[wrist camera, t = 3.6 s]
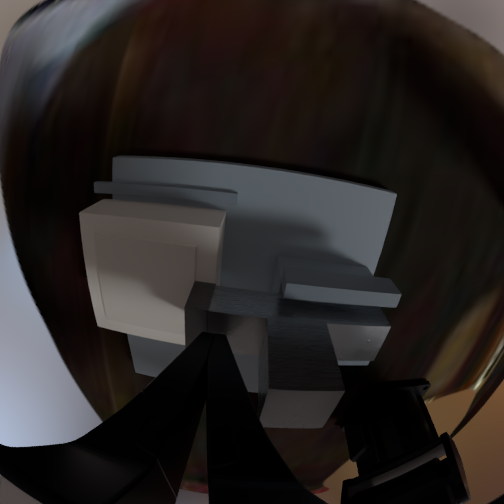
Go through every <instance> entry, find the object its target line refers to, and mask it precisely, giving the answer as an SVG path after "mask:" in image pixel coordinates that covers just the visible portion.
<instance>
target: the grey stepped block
mask: <svg viewBox="0 0 504 504" xmlns="http://www.w3.org/2000/svg"><path fill="white" fill-rule="evenodd" d="M184 314H185V348H186V347H187V346H188V345H189V344H190V343H191V342H192V341H193V340H194V339H195V338H196V337H197V336H198V335H199V334H200V333H201V332H210V333H214V334H215V333H217V334H224V335H226V336H227V339H228V341H229V344H230V347H231V349H232V352H233V353H237V354H246V355H255V356H259V365H258V417H259V419H260V421H261V423H262V425H263V427H274V428H322V427H323V426H324V424H325V423H326V421H327V420H328V418H329V417H330V415H331V414H332V412H333V410H334V409H335V407H336V406H337V404H338V402H339V401H340V399H341V397H342V396H343V394H344V392H345V388H344V384H343V380H342V376H341V373H340V369H339V365H338V361H374V359H375V357H376V355H377V353H378V351H379V349H380V348H381V346H382V344H383V342H384V340H385V338H386V336H387V334H388V332H389V330H390V328H391V326H390V324H389V322H388V320H387V319H386V317H385V315H384V313H383V311H382V310H381V308H380V307H379V306H365V305H352V304H340V303H328V302H318V301H307V300H297V299H288V298H283V294H281V293H272V292H263V291H255V290H247V289H239V288H231V287H223V286H216V284H215V283H207V282H200V281H195V282H194V284H193V287H192V289H191V292H190V294H189V297H188V299H187V302H186V304H185V307H184Z"/></svg>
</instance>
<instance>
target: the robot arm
mask: <svg viewBox="0 0 504 504" xmlns="http://www.w3.org/2000/svg"><path fill="white" fill-rule="evenodd" d="M430 386H431V385H430V383H429V381H422V382H414V383H405V384H394V385H380V386H371V387H368V388H367V389H366V390H365V391H364V393H363V395H362V396H361V398H360V399H359V401H358V402H357V404H356V405H355V406H354V408H353V409H352V411H351V412H350V414H349V415H348V417H347V418H346V419H345V421H344V422H343V423H342V425H341V431H345V434H346V439H347V444H348V449H349V455H350V460H351V461H352V462H356V463H357V467H358V474H359V476H358V477H355V478H353V479H347V480H344V481H343V485H342V493H341V504H464V503H466V502H468V501H469V500H471V497H470V492H469V488H468V483H467V479H466V475H465V471H464V467H463V463H462V460H461V457H460V455H459V452H458V450H457V447H456V445H455V443H454V441H453V440H452V438H451V437H450V436H449V434H448V433H447V432H445V433H443V434H442V435H440V437H438V434H437V432H436V429H435V427H434V424H433V422H432V420H431V417H430V414H429V412H428V410H427V407H426V405H425V403H424V400H423V398H422V397H423V396H424V394H425V393H426V392H427V390H428V389H429V388H430ZM206 397H207V398H206ZM205 401H206V418H207V472H208V496H209V504H328V503H326V502H325V501H323V500H322V499H320V498H319V497H317V496H316V495H314V494H313V493H311V492H310V491H308V490H307V489H306V488H305V487H304V486H303V485H302V484H301V483H300V482H299V481H298V480H297V479H296V478H295V476H294V475H293V474H292V472H291V471H290V469H289V468H288V466H287V465H286V463H285V462H284V460H283V459H282V457H281V456H280V454H279V453H278V451H277V450H276V448H275V447H274V445H273V444H272V442H271V440H270V439H269V437H268V435H267V433H266V432H265V430H264V428H263V425H262V423H261V421H260V419H259V417H258V414H257V412H256V410H255V408H254V405H253V403H252V400H251V398H250V395H249V393H248V390H247V388H246V385H245V383H244V380H243V378H242V375H241V373H240V370H239V368H238V365H237V362H236V360H235V357H234V355H233V352H232V349H231V347H230V344H229V341H228V339H227V336H226V335H224V334H217V333H215V334H214V333H210V332H201V333H200V334H199V335H198V336H197V337H196V338H195V339H194V340H193V341H192V342H191V343H190V344H189V345H188V346H187V347H186V348H185V349H184V350H183V351H182V352H181V353H180V354H179V355H178V356H177V357H176V358H175V359H174V360H173V361H172V362H171V363H170V364H169V365H168V366H167V367H166V368H165V369H164V370H163V371H162V372H161V373H160V374H159V375H158V376H156V377H155V378H154V379H153V380H152V381H151V382H150V383H149V384H148V385H147V386H146V387H145V388H144V389H143V392H142V391H141V392H140V393H139V394H138V395H137V396H136V397H135V398H133V399H132V400H131V401H130V402H129V403H128V404H127V405H125V406H124V407H123V408H122V409H121V410H119V411H118V412H117V413H115V414H114V415H113V416H111V417H110V418H108V419H107V420H106V421H104V422H103V423H101V424H100V425H99V426H97V427H96V428H94V429H93V430H91V431H90V432H88V433H87V434H85V435H84V436H82V437H81V438H79V439H77V440H74V441H72V442H68V443H64V444H55V445H45V446H32V447H9V446H4V445H2V444H0V504H175V503H176V498H177V496H178V492H179V489H180V486H181V482H182V479H183V475H184V472H185V469H186V465H187V462H188V458H189V455H190V452H191V448H192V445H193V441H194V438H195V435H196V431H197V428H198V425H199V421H200V418H201V414H202V411H203V408H204V404H205ZM445 454H446V456H447V458H445V459H443V460H442V461H440V460H439V459H438V458H440V457H442V456H444V455H445ZM487 504H504V494H502V495H500V496H499V497H497V498H496V499H494V500H492V501H491V502H489V503H487Z"/></svg>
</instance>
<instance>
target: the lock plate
mask: <svg viewBox="0 0 504 504" xmlns="http://www.w3.org/2000/svg"><path fill="white" fill-rule="evenodd" d="M94 193H106V194H113V199H115V200H127V201H139V202H151V203H162V204H172V205H182V206H191V207H201V208H210V209H218V210H226V220H225V231H224V241H223V252H222V264H221V275H220V286H223V287H231V288H239V289H247V290H255V291H263V292H272V293H281V294H283V298H288V299H297V300H307V301H318V302H328V303H340V304H352V305H365V306H379V307H395V308H396V307H397V304H398V302H399V300H400V297H401V295H402V294H401V293H400V291H399V290H398V289H397V287H396V286H395V285H394V283H393V282H392V281H391V279H388V278H379V277H374V276H373V275H374V272H375V269H376V266H377V263H378V260H379V256H380V253H381V250H382V247H383V244H384V240H385V237H386V233H387V230H388V226H389V223H390V219H391V215H392V212H393V208H394V204H395V200H396V196H397V194H396V193H394V192H392V191H390V190H387V189H383V188H378V187H374V186H370V185H365V184H361V183H356V182H352V181H347V180H342V179H337V178H332V177H327V176H321V175H316V174H310V173H304V172H298V171H292V170H286V169H279V168H272V167H265V166H258V165H250V164H242V163H233V162H223V161H213V160H202V159H189V158H174V157H155V156H117V157H113V171H112V182H106V181H96V182H94ZM127 336H128V341H129V345H130V350H131V355H132V359H133V363H134V368H135V372H136V373H140V374H144V375H148V376H153V377H156V376H158V375H159V374H160V373H161V372H162V371H163V370H164V369H165V368H166V367H167V366H168V365H169V364H170V363H171V362H172V361H173V360H174V359H175V358H176V357H177V356H178V355H179V354H180V353H181V352H182V351H183V350H184V349H185V345H181V344H175V343H170V342H165V341H160V340H155V339H150V338H145V337H140V336H136V335H131V334H127ZM233 355H234V357H235V360H236V362H237V365H238V368H239V370H240V373H241V375H242V378H243V380H244V383H245V385H246V388H247V390H248V392H256V393H258V365H259V356H255V355H246V354H237V353H233ZM369 362H370V361H338V365H368V364H369Z"/></svg>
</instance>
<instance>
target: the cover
mask: <svg viewBox="0 0 504 504" xmlns="http://www.w3.org/2000/svg"><path fill="white" fill-rule="evenodd" d="M79 217H80V228H81V237H82V246H83V253H84V260H85V267H86V273H87V278H88V284H89V289H90V294H91V299H92V304H93V308H94V313H95V317H96V321H97V325H98V326H99V327H103V328H107V329H111V330H115V331H119V332H123V333H127V334H131V335H136V336H140V337H145V338H150V339H155V340H160V341H165V342H170V343H175V344H181V345H185V314H184V307H185V304H186V302H187V299H188V297H189V294H190V292H191V289H192V287H193V284H194V282H195V281H200V282H207V283H215V284H216V286H220V275H221V264H222V252H223V241H224V231H225V220H226V210H218V209H210V208H201V207H191V206H182V205H172V204H162V203H151V202H139V201H127V200H115V199H103V200H101V201H99V202H97V203H95V204H93V205H92V206H90V207H88V208H86V209H84V210H83V211H81V212H79Z"/></svg>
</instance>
